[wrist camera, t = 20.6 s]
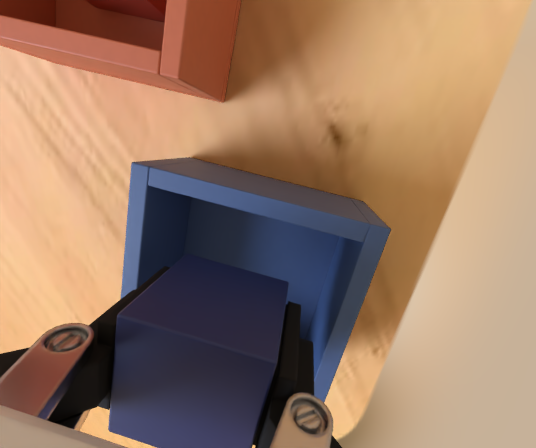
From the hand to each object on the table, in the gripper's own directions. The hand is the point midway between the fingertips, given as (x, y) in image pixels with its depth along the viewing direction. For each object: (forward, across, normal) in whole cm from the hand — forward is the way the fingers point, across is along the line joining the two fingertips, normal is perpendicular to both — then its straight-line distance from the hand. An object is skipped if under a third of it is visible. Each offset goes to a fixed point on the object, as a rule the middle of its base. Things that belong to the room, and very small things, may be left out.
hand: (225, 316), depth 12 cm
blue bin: (+6, 0, 0) cm, 6 cm away
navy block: (0, 0, 0) cm, 0 cm away
